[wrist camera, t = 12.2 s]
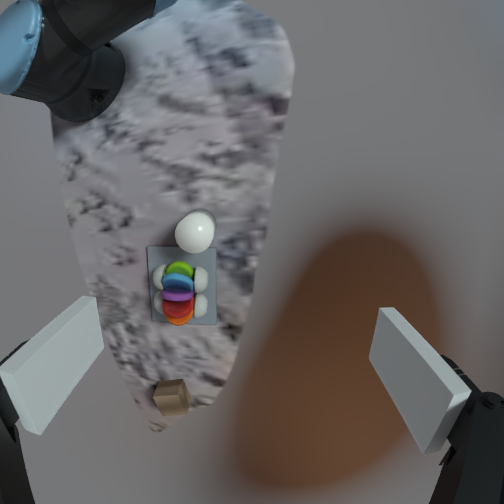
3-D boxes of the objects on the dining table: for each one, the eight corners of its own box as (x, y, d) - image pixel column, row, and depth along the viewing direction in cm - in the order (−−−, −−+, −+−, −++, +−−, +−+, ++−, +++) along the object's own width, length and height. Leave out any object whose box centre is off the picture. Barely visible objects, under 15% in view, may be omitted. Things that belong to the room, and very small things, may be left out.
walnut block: (159, 381, 54) (152, 396, 50) (182, 378, 54) (177, 394, 49) (167, 399, 56) (162, 416, 51) (191, 397, 55) (186, 414, 51)
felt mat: (148, 245, 48) (147, 246, 47) (216, 247, 48) (215, 248, 47) (153, 319, 51) (152, 321, 50) (216, 323, 51) (216, 325, 51)
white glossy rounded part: (180, 213, 46) (170, 221, 40) (211, 204, 46) (206, 211, 40) (189, 244, 48) (181, 257, 41) (220, 236, 48) (216, 248, 41)
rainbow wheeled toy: (158, 311, 50) (146, 331, 43) (157, 255, 48) (142, 268, 41) (208, 316, 50) (202, 337, 43) (210, 259, 48) (203, 274, 41)
